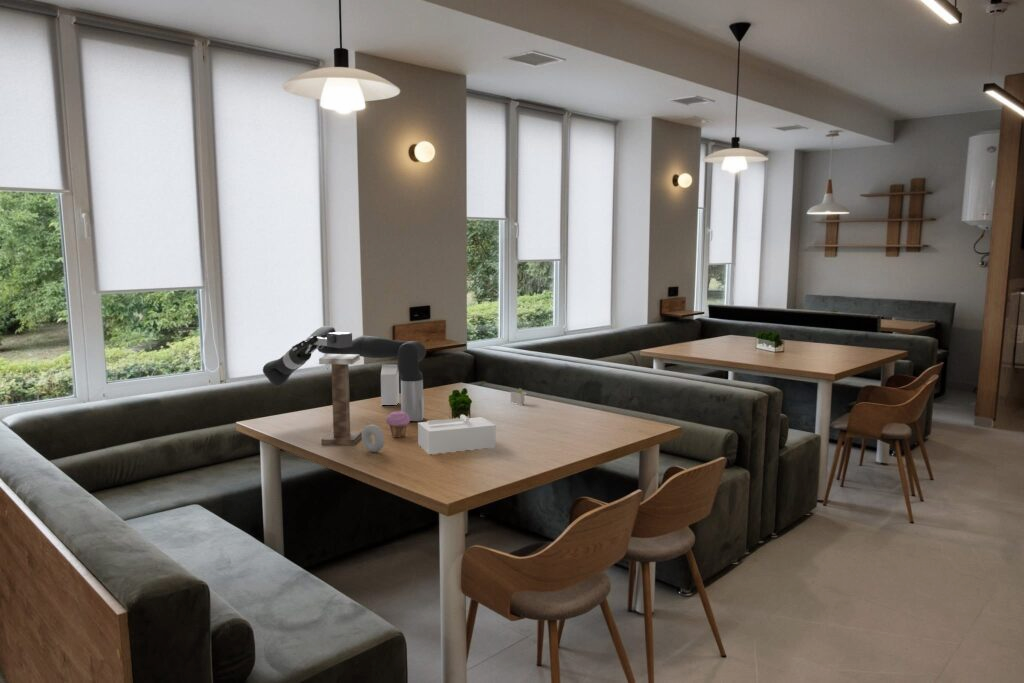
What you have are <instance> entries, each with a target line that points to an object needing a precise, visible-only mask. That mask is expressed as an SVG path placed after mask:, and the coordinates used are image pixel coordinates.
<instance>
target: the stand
mask: <svg viewBox="0 0 1024 683" xmlns="http://www.w3.org/2000/svg"><path fill="white" fill-rule="evenodd" d="M360 360H361V356H360V354H325V355H324V356H322V357H319V359H318V365H331V392H332V395H331V396H332V398H331V399H332V425H333V426H332V428H333V431H329V432H328V433H327V434H326V435H325V436H324V437H322V439H321V445H322V444H333V445H332V446H355V445H356V444H357V443H358V442H359V440H360V439H362V432H363V431H351V417H350V416H351V413H350V407H351V406H350V384H349V383H350V376H349V374H350V373H349V369H350V368H349V365H354V364H356V363H357V362H358V361H360ZM356 442H357V443H356ZM355 443H356V444H355ZM354 444H355V445H354Z"/></svg>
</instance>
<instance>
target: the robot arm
mask: <svg viewBox="0 0 1024 683" xmlns="http://www.w3.org/2000/svg"><path fill="white" fill-rule="evenodd" d="M333 332H337V331H336V328H335V327H333V326H331V325H324V326H321V327H319V328H317V329H316V330H314V331H313V332H312V333H311V334H310V335H309V336H308V337H312V338H311V339H308V338H306V339H305V340H302V341H300V342H299V343H296V344H294V345H292V347H291V348H290V349H288V350H287V351H286V352H285V354H284V355H282V356H281V357H280V358H278V359H274V360H271V361H269V362H267V363H265V364H264V365H263V367H262V373H263V374H264V375H265V377H266V379H268V381H269V382H270V384H272V386H274V387H282V386H283V385H285V383H286V382H287V380H289V378H290V376H291V375H292V374H293V373H294V372H295V371H296V370H298V369H299V368H301V367H302V366H304V365H305V364H306V362H308V361H309V360H310V359H311V357H312V354H313V353H314V351H316V350H318V352H319V353H322V354H325V355H328V354H360V357H363V358H369V359H387V358H389V359H390V358H397V367H398V371H399V377H400V408H401V409H400V411H403V412H405V413H406V414H408V415H409V418H410V421H417V422H423V421H422V420H424V419H425V396H424V379H423V378H424V377H423V376H424V374H423V372H422V371H421V370H420V369H419V362H421V361H423V359H425V357H426V355H427V349H426V347H425V345H423V343H421V342H420V341H418V340H394V339H389V338H383V337H378V336H373V335H360V336H357V337H356V338H354V339H352V347H344V348H335V347H327V346H323V345H314V343H316V342H317V341H318V338H317V337H326V338H327V333H333ZM423 418H424V419H423Z"/></svg>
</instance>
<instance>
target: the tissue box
mask: <svg viewBox="0 0 1024 683" xmlns="http://www.w3.org/2000/svg"><path fill="white" fill-rule="evenodd" d="M496 429H497V428H496V424H494V423H493V422H491V421H489V420H488V419H486V418H485V417H482V416H479V417H468V416H466V415H465V414H460V415H459V418H449V419H448V418H447V419H435V420H433V419H432V420H427V421H418V422H417V438H418V439H417V443H418V444H417V445H418V446H419V447H420V446H421V447H422V448H423V449H424V450H425V451H426V452H427V453H428V454H432V455H439V454H438V453H442V454H447V453H446V452H451V453H457V452H456V451H461V452H466V451H465V450H470V451H475V450H474V449H479V450H484V449H483V448H489V449H494V448H493V447H496V444H497V442H496V441H497V440H496V436H497V435H496V433H497V432H496ZM421 447H420V448H421ZM422 448H421V449H422ZM496 448H497V447H496ZM423 449H422V450H423ZM424 450H423V451H424ZM425 451H424V452H425ZM426 452H425V453H426ZM427 453H426V454H427ZM428 454H427V455H428Z"/></svg>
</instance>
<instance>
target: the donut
mask: <svg viewBox="0 0 1024 683" xmlns="http://www.w3.org/2000/svg"><path fill="white" fill-rule="evenodd" d="M361 432H362V437H361V441H362V444H363V446H364V447H365V449H366V450H368V452H372V453H377V452H380V451H381V450H382V449H383V448H384V446H385V441H386V438H385V434H384V432H383V430H382V429H381V427H380V426H378V425H376V424H367V425H366V426H365V427H363V429H362V431H361ZM372 435H373V436H374V441H373V439H372Z"/></svg>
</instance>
